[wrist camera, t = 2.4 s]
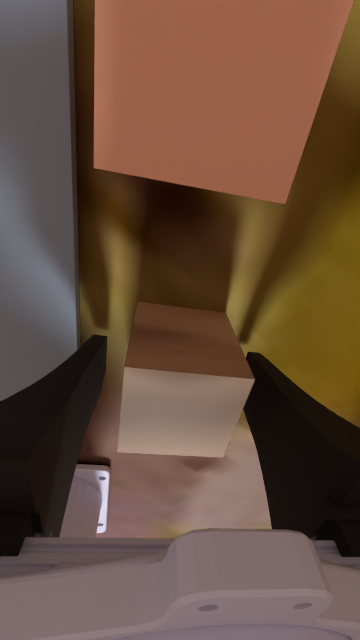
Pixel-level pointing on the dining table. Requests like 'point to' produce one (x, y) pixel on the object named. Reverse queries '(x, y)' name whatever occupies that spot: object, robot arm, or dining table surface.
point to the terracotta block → (211, 89)
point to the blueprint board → (37, 192)
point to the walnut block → (182, 382)
